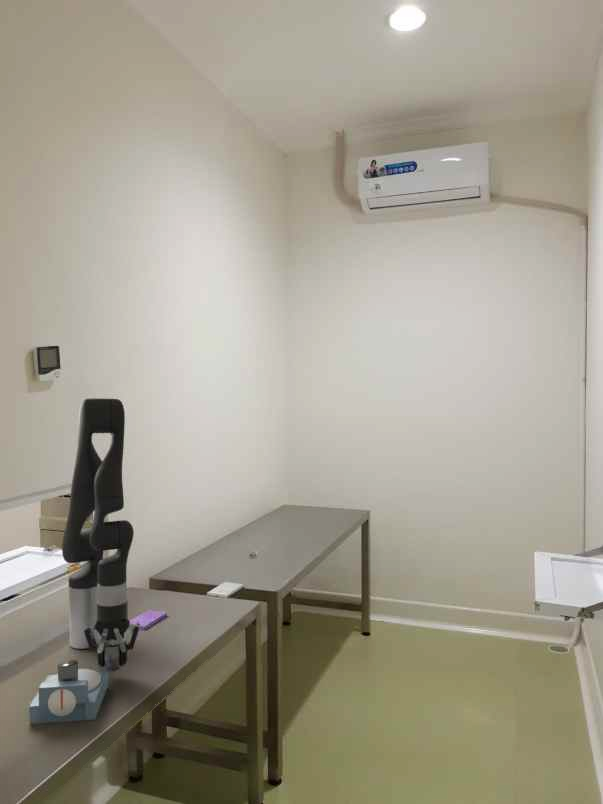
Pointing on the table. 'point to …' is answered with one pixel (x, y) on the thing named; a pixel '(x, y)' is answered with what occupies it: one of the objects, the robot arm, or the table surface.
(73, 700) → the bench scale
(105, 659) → the cylinder
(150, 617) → the sponges
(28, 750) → the table surface
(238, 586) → the external hard drive
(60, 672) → the cylinder
